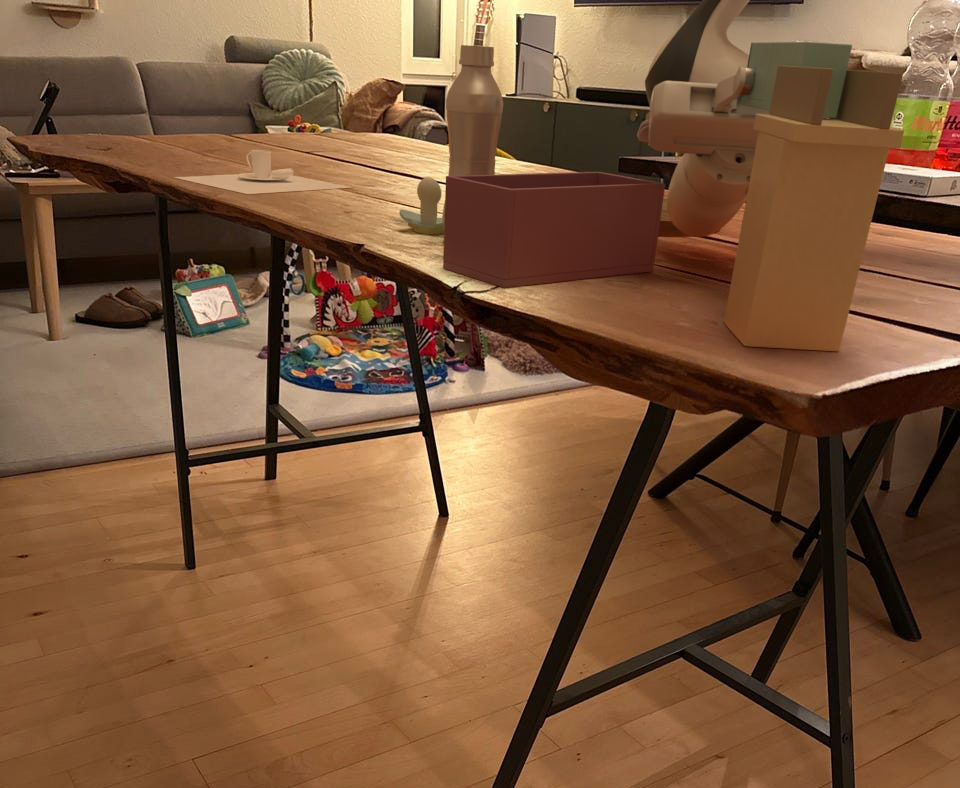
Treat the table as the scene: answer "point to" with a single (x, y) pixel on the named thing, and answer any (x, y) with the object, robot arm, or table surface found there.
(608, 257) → the open storage box
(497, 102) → the plastic bottle
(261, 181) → the teacup and saucer
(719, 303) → the table surface
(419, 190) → the pacifier
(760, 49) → the pale green box
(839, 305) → the tan trash bin
